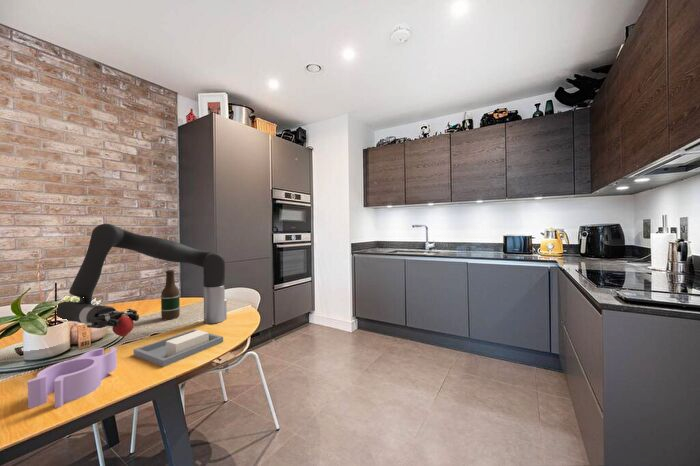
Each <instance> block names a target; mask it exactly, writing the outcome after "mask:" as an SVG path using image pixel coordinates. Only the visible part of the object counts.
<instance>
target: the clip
mask: <svg viewBox="0 0 700 466" xmlns="http://www.w3.org/2000/svg"><path fill="white" fill-rule="evenodd" d="M117 357H118V356H117V348H116V347H112V348H111V347H110V349H109V351H108V352H106V353H105V348H104V347H100V348H94V349H91V350H89V351H86V352H84V353H82V354H81V355H80V356H78V357H75V358H71V359H68V360H65V361H61V362H58V363H55V364H53V365H49V366H47V367H46V368H44V369H41V370H40V371H39V372H38V373H37V374H36V377H35V378H31V379H28V380H27V408H28V409H29V408H30V409H33V408H36V407H39V406H41V405H43V404H46V403H47V402H48V396H49V394H51V393H53V392H54V408H55V409H58V408H61V407H63V405H64V404H66V403H70V402H72V401H75V400H78V399H80V398H83V397H85V396H87V395H90V394H91V393H94V392H95V391H96V390H97V389H98V388H99V387H101V384H102V381H103V380H104V379H106V378H108V377H110V376H112V374H111V373H112V372H114V371H115V370H116V369H117V368H118V365H117V363H118V361H117Z"/></svg>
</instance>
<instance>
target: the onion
mask: <svg viewBox="0 0 700 466" xmlns="http://www.w3.org/2000/svg"><path fill="white" fill-rule="evenodd" d="M117 320H119V326H118V327H113V326H112V332H113V333H114V334H115V335H116V336H119V337H122V338H125V337H127V336H128V334H130V333H131V332H132V331H133V329H134V328H135V323H134V322H135V321H133V320H132V319H130V318H129V317H126V314H123V315H122V316H121V317H120V318H119V319H117Z"/></svg>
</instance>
